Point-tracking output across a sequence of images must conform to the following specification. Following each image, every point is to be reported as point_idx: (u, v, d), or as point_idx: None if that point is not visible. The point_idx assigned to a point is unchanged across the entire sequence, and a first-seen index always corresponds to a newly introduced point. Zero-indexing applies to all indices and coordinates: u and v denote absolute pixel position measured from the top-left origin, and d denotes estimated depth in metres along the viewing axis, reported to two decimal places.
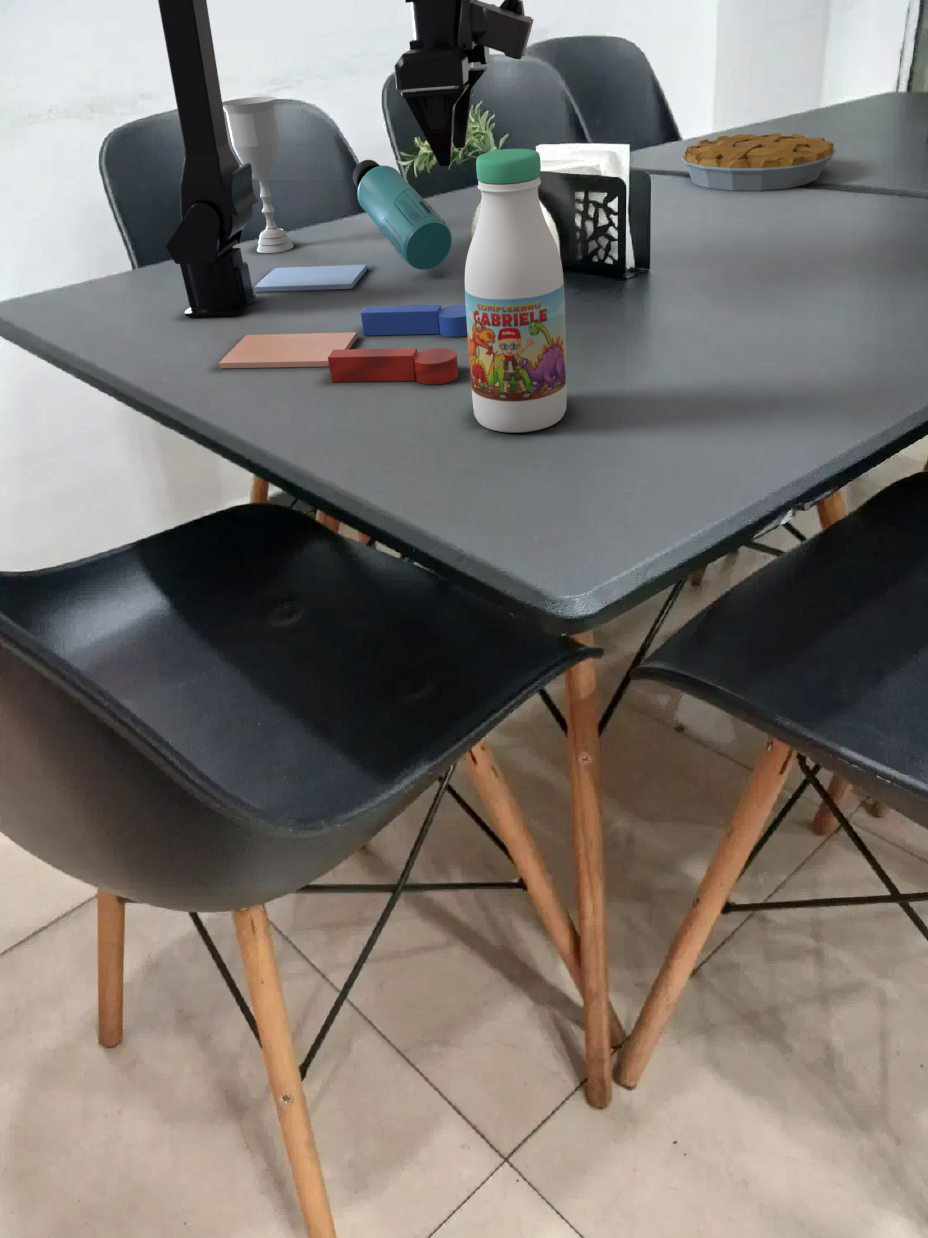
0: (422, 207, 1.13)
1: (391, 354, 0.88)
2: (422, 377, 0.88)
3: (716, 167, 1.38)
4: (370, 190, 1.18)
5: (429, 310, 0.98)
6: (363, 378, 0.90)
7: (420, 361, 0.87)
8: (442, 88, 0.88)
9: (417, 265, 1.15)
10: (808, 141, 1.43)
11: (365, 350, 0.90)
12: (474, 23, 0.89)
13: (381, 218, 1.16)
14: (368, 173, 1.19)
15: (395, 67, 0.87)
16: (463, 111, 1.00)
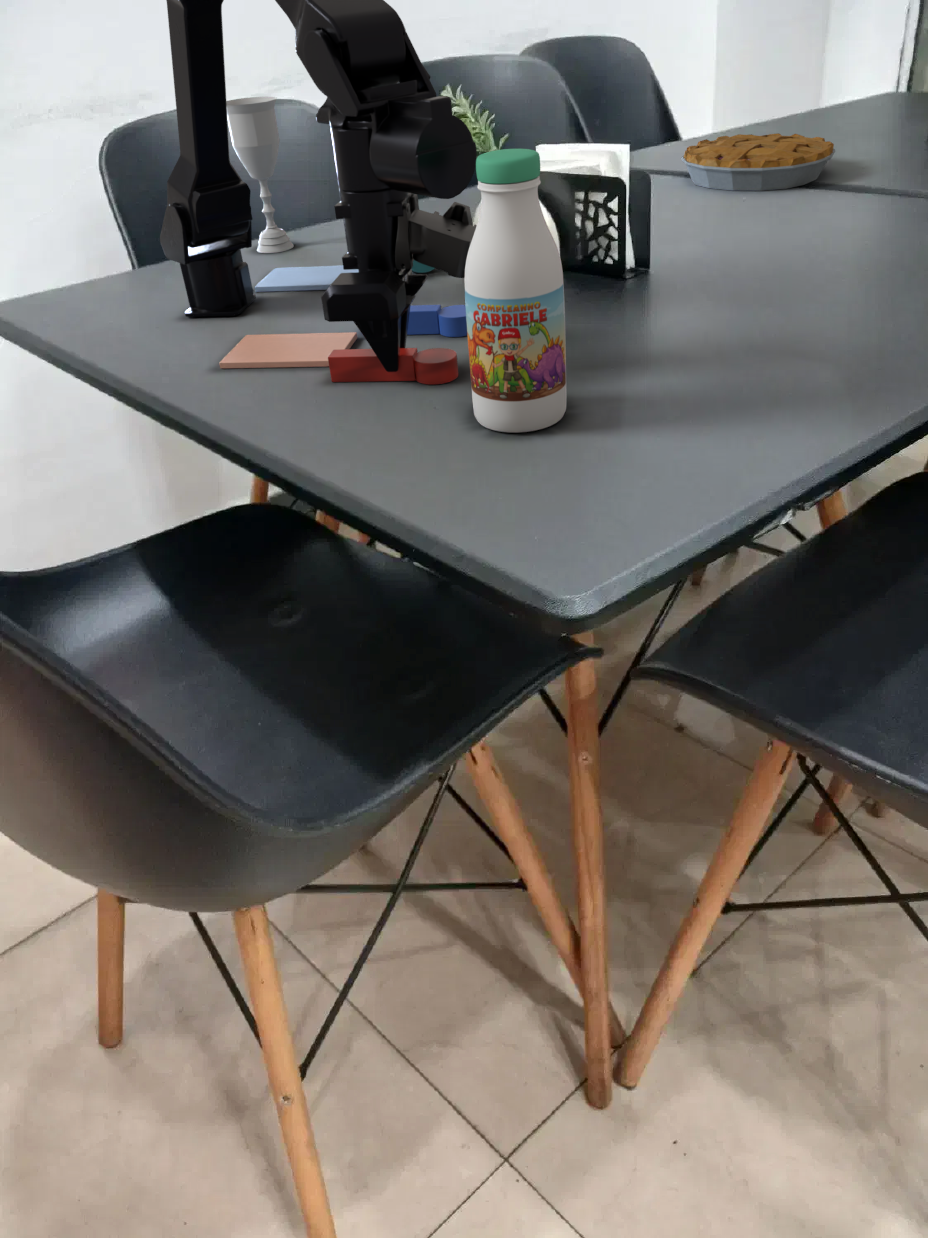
0: None
1: None
2: (422, 377, 0.88)
3: (716, 167, 1.38)
4: None
5: (429, 310, 0.98)
6: (363, 378, 0.90)
7: (420, 361, 0.87)
8: None
9: (415, 267, 1.16)
10: (808, 141, 1.43)
11: (365, 350, 0.90)
12: (413, 242, 0.80)
13: None
14: None
15: (322, 298, 0.78)
16: (400, 325, 0.88)
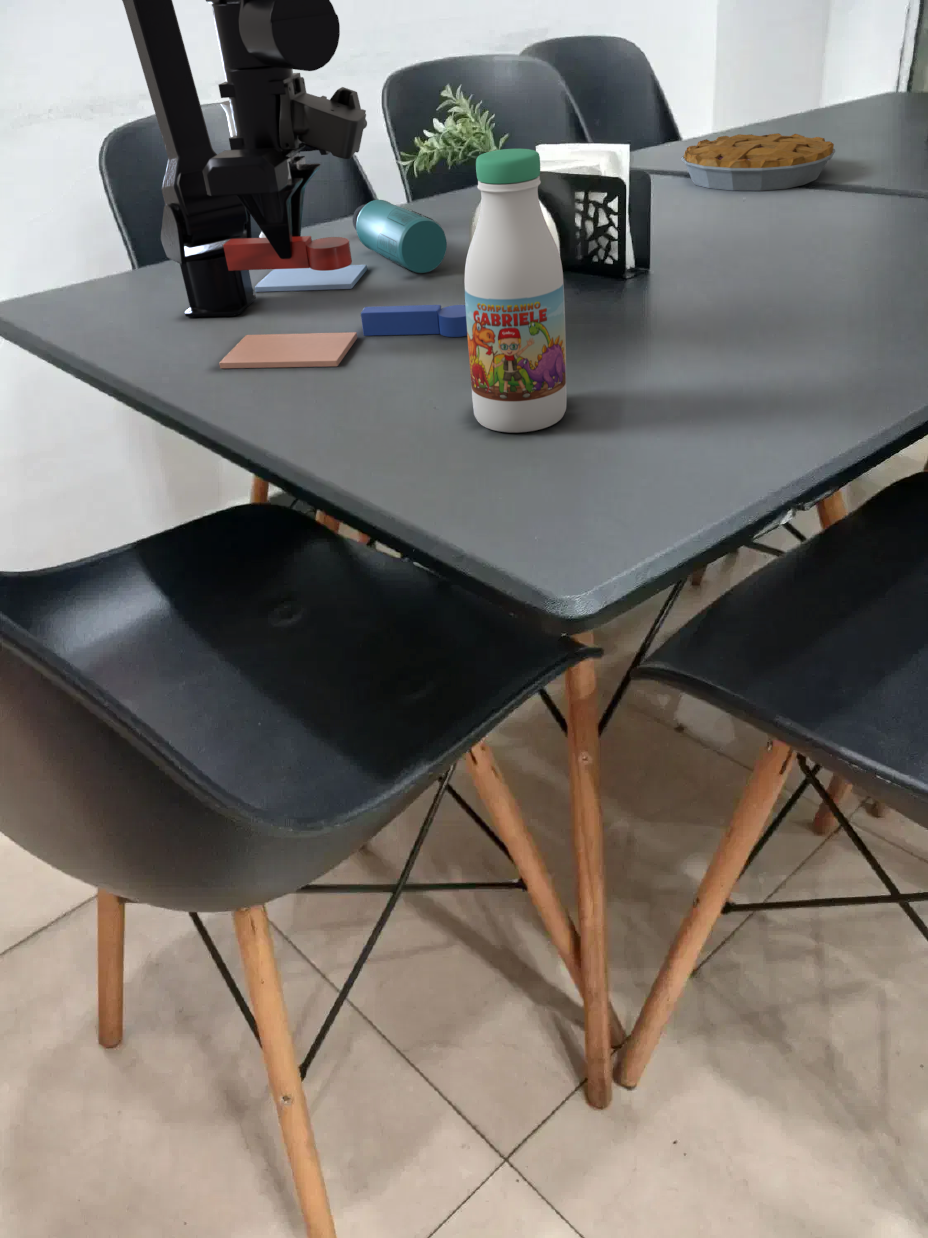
0: (414, 214, 1.16)
1: None
2: (314, 263, 0.90)
3: (716, 167, 1.38)
4: (366, 218, 1.22)
5: (429, 310, 0.98)
6: (258, 266, 0.91)
7: (312, 247, 0.89)
8: None
9: (415, 267, 1.16)
10: (808, 141, 1.43)
11: (261, 238, 0.91)
12: (296, 121, 0.82)
13: (377, 236, 1.19)
14: (364, 207, 1.23)
15: (203, 172, 0.79)
16: (294, 213, 0.90)
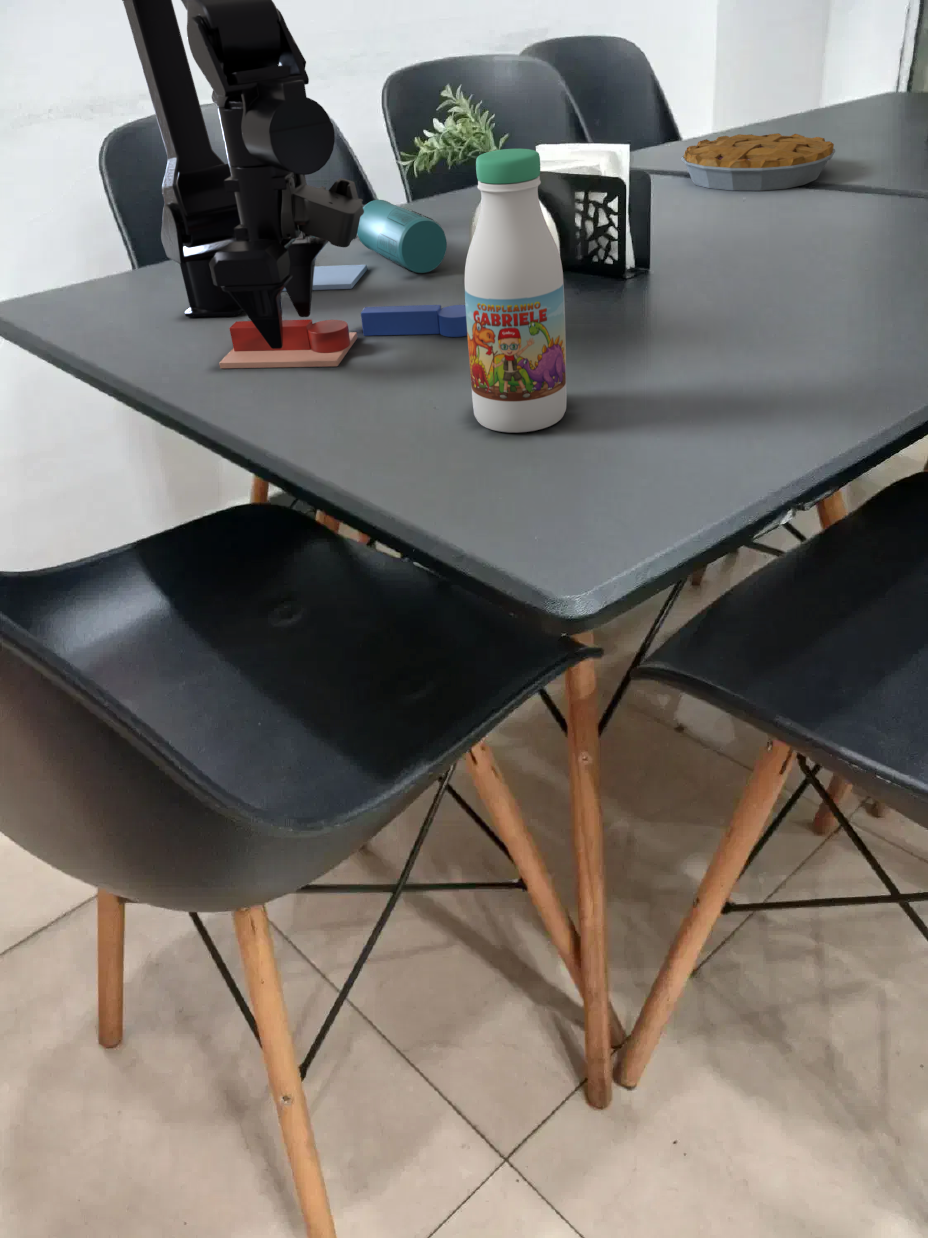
0: (414, 214, 1.16)
1: (287, 325, 0.95)
2: (315, 346, 0.95)
3: (716, 167, 1.38)
4: (366, 218, 1.22)
5: (429, 310, 0.98)
6: (262, 347, 0.97)
7: (313, 331, 0.95)
8: None
9: (415, 267, 1.16)
10: (808, 141, 1.43)
11: None
12: (296, 214, 0.87)
13: (377, 236, 1.19)
14: (364, 207, 1.23)
15: (210, 264, 0.85)
16: (305, 282, 0.98)
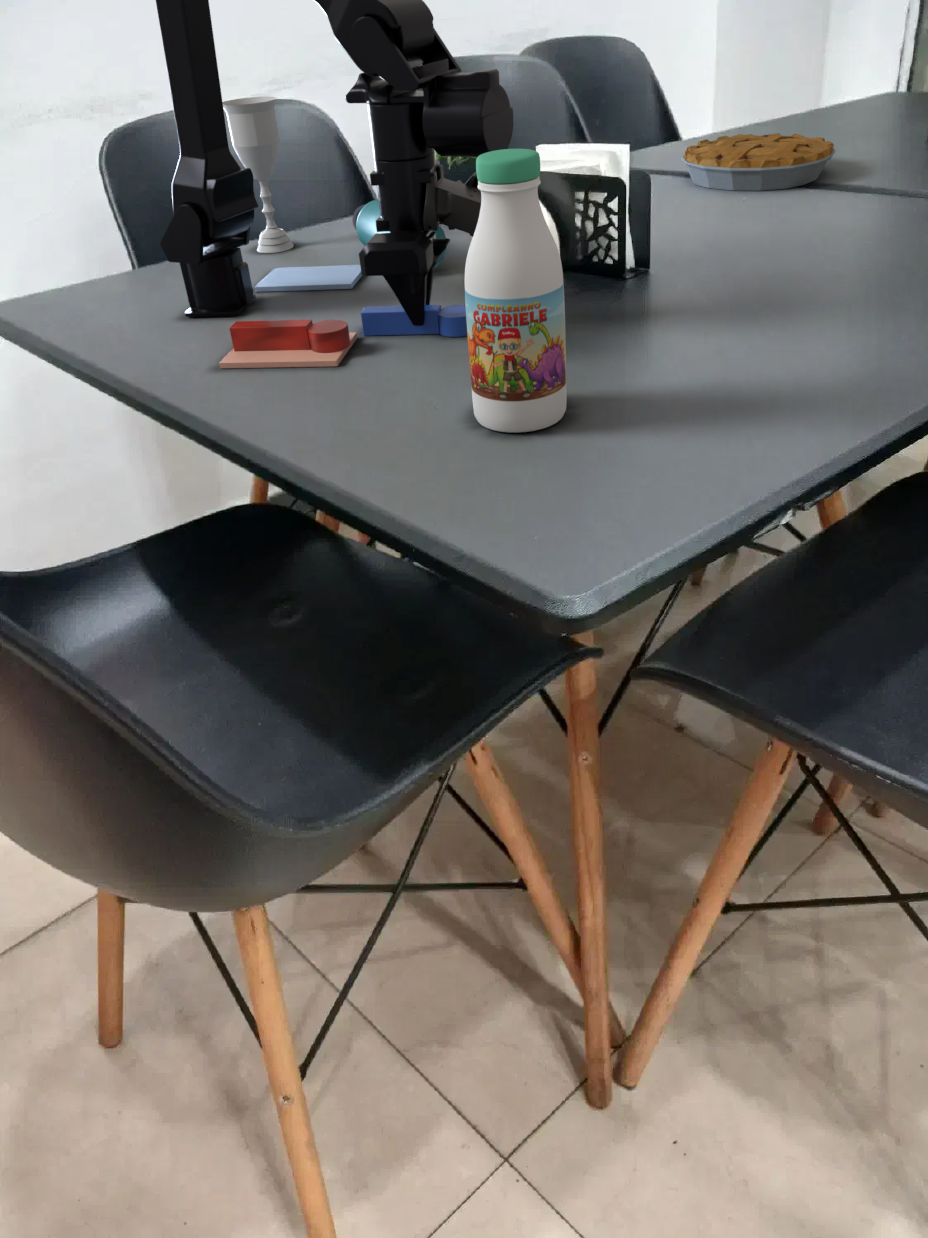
0: None
1: (287, 325, 0.95)
2: (315, 346, 0.95)
3: (716, 167, 1.38)
4: (366, 218, 1.22)
5: (429, 310, 0.98)
6: (262, 347, 0.97)
7: (313, 331, 0.95)
8: None
9: None
10: (808, 141, 1.43)
11: (264, 321, 0.97)
12: (439, 206, 0.90)
13: None
14: (364, 207, 1.23)
15: (360, 255, 0.88)
16: (426, 284, 0.98)
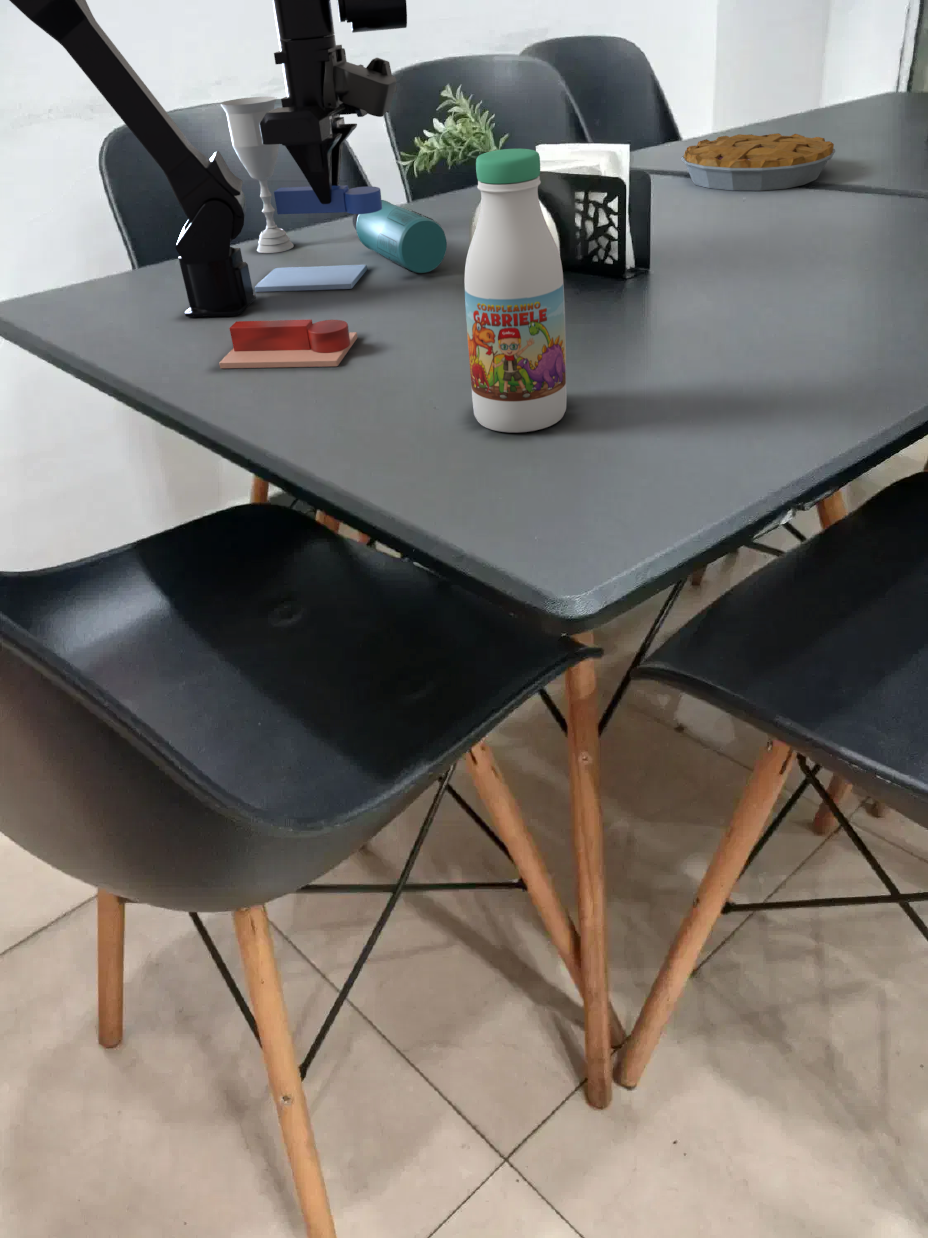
0: (414, 214, 1.16)
1: (287, 325, 0.95)
2: (315, 346, 0.95)
3: (716, 167, 1.38)
4: (366, 218, 1.22)
5: (336, 189, 1.06)
6: (262, 347, 0.97)
7: (313, 331, 0.95)
8: None
9: (415, 267, 1.16)
10: (808, 141, 1.43)
11: (264, 321, 0.97)
12: (337, 84, 0.98)
13: (377, 236, 1.19)
14: None
15: (260, 124, 0.95)
16: (333, 165, 1.06)
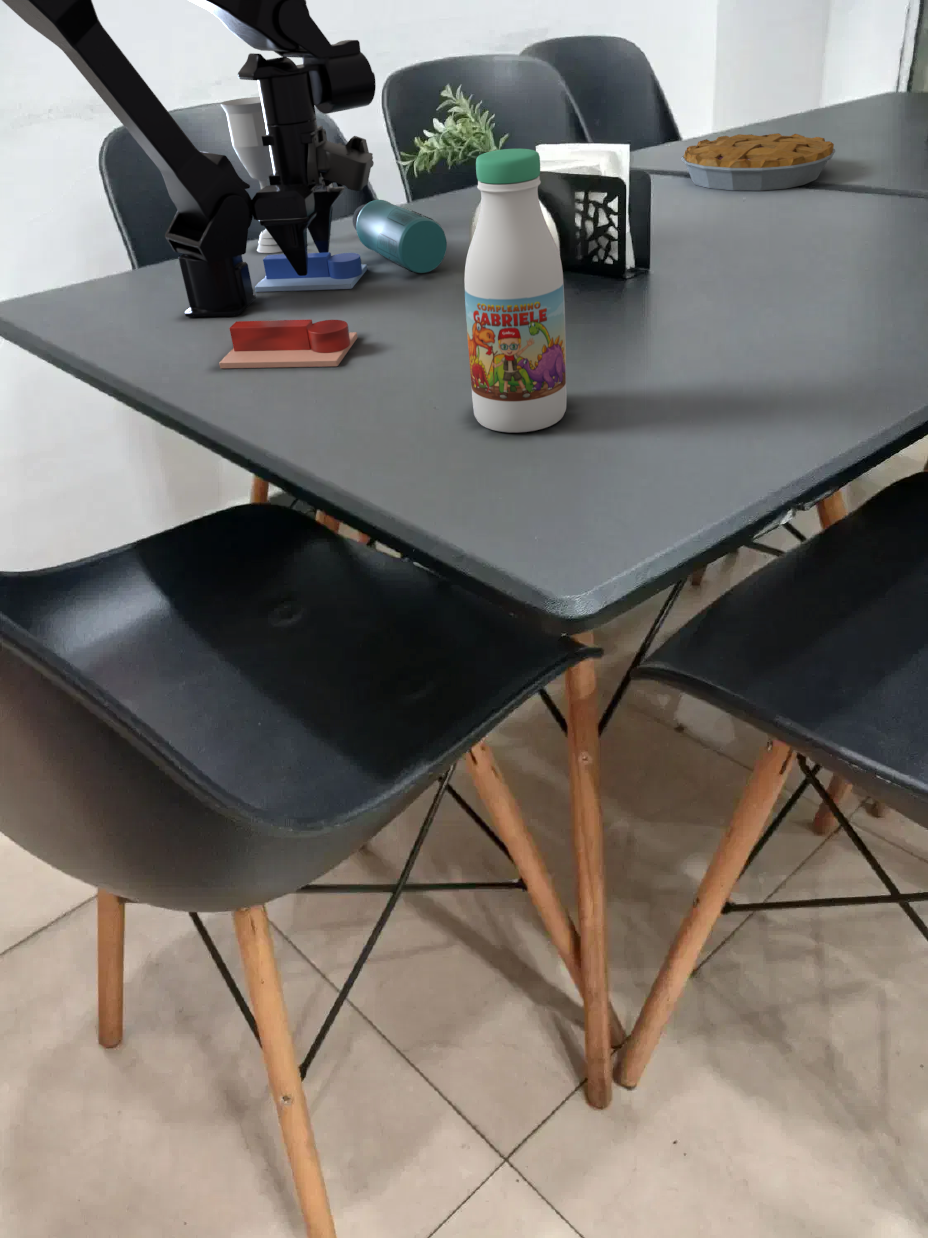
0: (414, 214, 1.16)
1: (287, 325, 0.95)
2: (315, 346, 0.95)
3: (716, 167, 1.38)
4: (366, 218, 1.22)
5: (320, 256, 1.16)
6: (262, 347, 0.97)
7: (313, 331, 0.95)
8: (291, 218, 1.07)
9: (415, 267, 1.16)
10: (808, 141, 1.43)
11: (264, 321, 0.97)
12: (320, 163, 1.08)
13: (377, 236, 1.19)
14: (364, 207, 1.23)
15: (251, 202, 1.06)
16: (324, 224, 1.19)
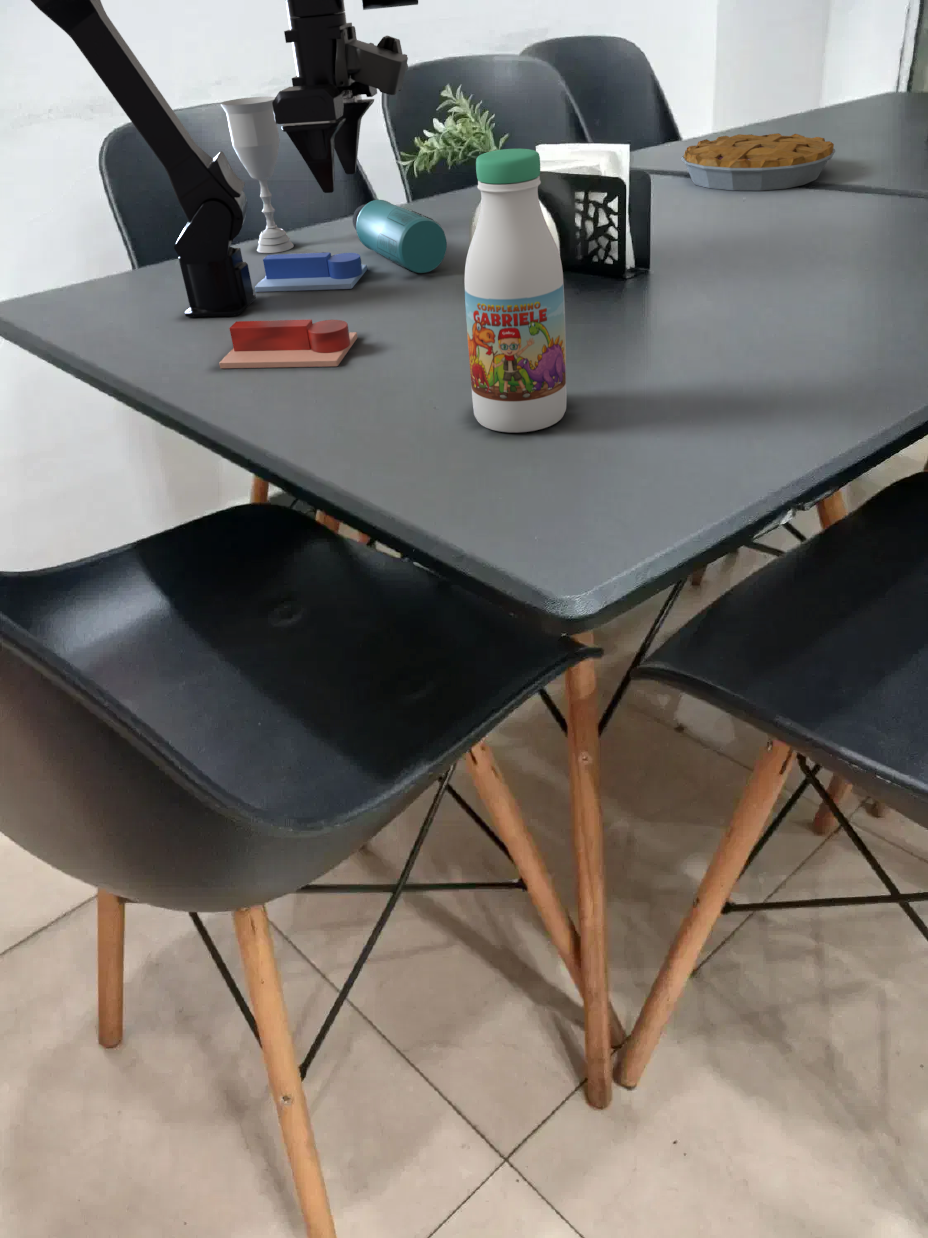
0: (414, 214, 1.16)
1: (287, 325, 0.95)
2: (315, 346, 0.95)
3: (716, 167, 1.38)
4: (366, 218, 1.22)
5: (320, 256, 1.16)
6: (262, 347, 0.97)
7: (313, 331, 0.95)
8: (318, 122, 0.95)
9: (415, 267, 1.16)
10: (808, 141, 1.43)
11: (264, 321, 0.97)
12: (349, 62, 0.96)
13: (377, 236, 1.19)
14: (364, 207, 1.23)
15: (273, 103, 0.94)
16: (352, 140, 1.07)
